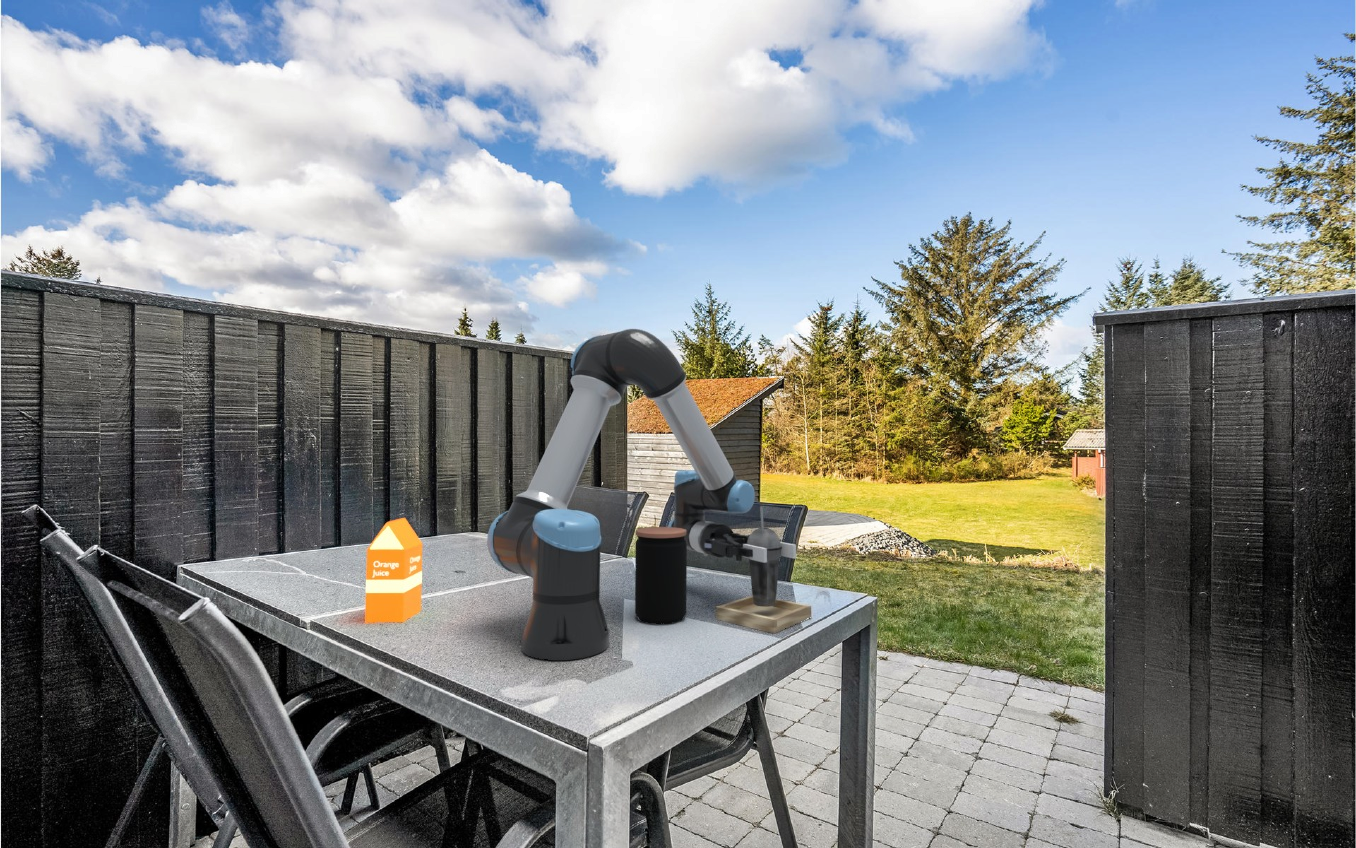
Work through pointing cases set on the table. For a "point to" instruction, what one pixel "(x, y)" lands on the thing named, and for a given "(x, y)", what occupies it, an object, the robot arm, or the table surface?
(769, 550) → the beverage cup
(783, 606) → the tray
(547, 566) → the robot arm
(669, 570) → the coffee jar
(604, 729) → the table surface
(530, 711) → the table surface
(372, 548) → the orange juice
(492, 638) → the table surface
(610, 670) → the table surface
